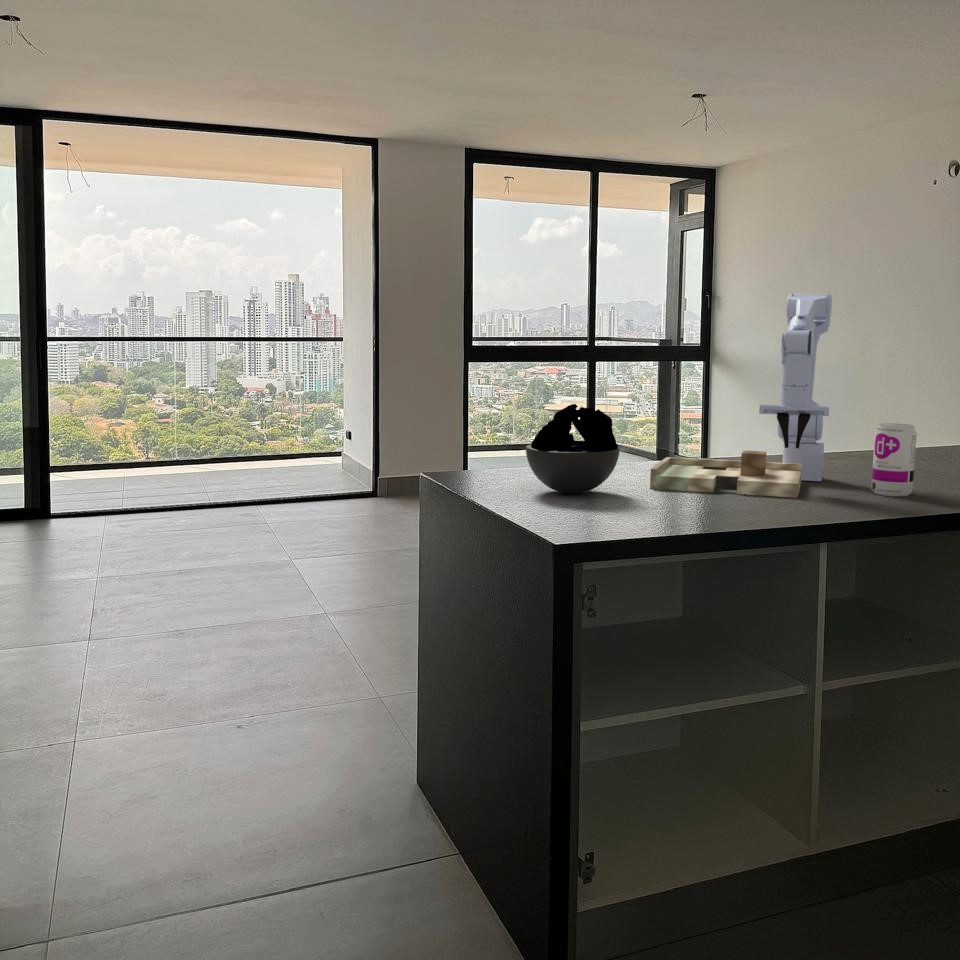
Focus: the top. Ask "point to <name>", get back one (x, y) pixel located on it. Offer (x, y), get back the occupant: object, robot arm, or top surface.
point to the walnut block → (753, 463)
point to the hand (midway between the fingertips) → (791, 447)
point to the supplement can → (894, 459)
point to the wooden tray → (725, 477)
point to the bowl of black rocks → (574, 451)
